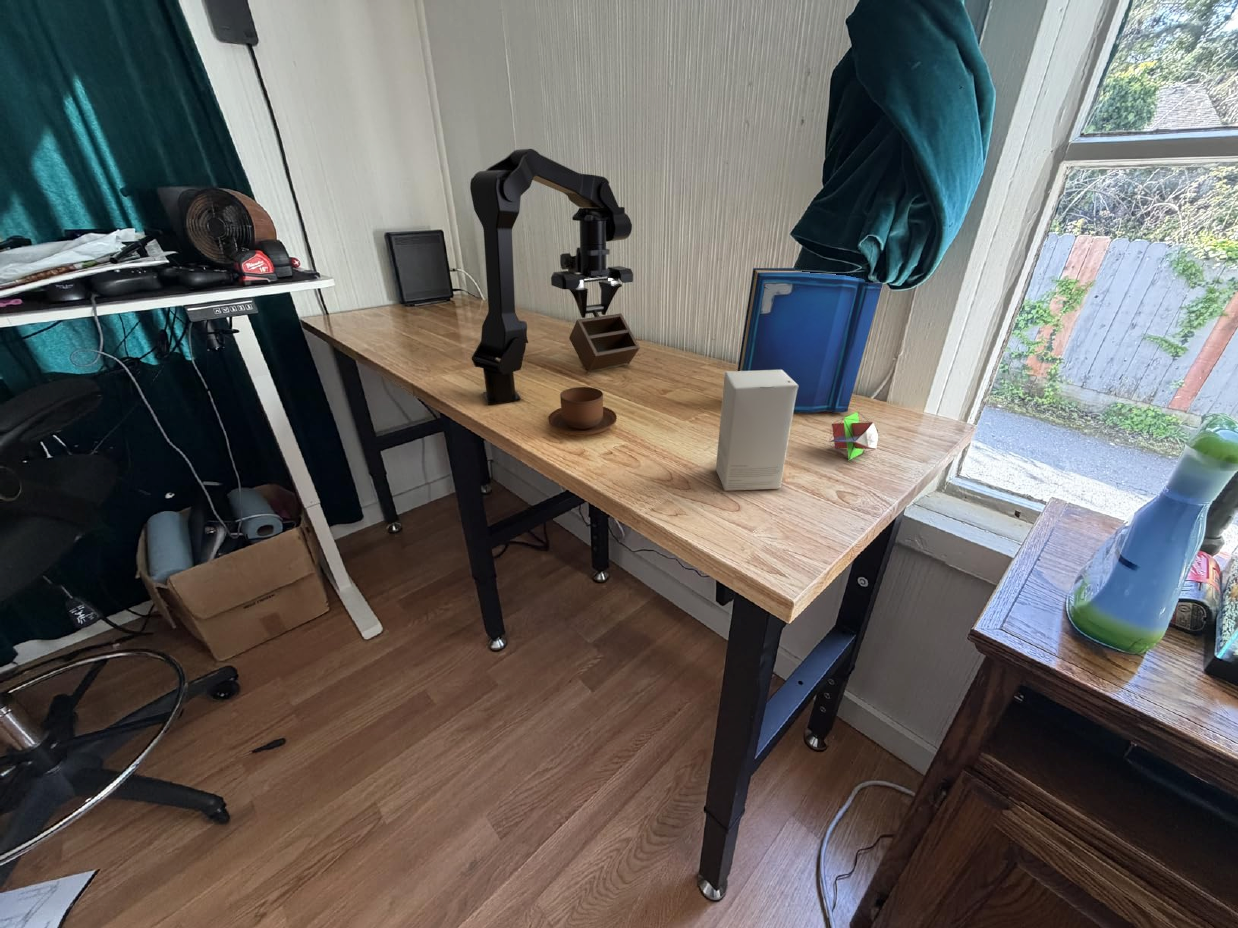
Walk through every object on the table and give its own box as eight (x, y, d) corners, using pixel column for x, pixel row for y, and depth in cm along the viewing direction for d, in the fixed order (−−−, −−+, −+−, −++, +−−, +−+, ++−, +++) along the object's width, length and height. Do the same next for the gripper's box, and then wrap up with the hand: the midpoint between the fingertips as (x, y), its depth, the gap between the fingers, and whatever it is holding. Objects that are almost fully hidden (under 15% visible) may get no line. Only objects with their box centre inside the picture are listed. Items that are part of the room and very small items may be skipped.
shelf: (562, 324, 116) (569, 305, 111) (604, 318, 122) (614, 300, 117) (586, 373, 113) (595, 356, 107) (629, 364, 119) (640, 347, 113)
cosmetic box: (768, 468, 74) (785, 368, 67) (782, 491, 68) (802, 385, 61) (712, 469, 74) (723, 368, 67) (722, 492, 68) (735, 385, 61)
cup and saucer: (535, 425, 88) (533, 392, 85) (589, 408, 95) (588, 378, 92) (575, 448, 80) (573, 413, 77) (630, 428, 87) (631, 395, 84)
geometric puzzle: (809, 435, 79) (846, 408, 73) (833, 425, 83) (870, 397, 77) (836, 473, 77) (876, 448, 71) (859, 460, 81) (899, 435, 75)
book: (843, 403, 98) (875, 268, 86) (854, 417, 91) (890, 274, 79) (732, 398, 100) (748, 266, 87) (736, 412, 93) (754, 272, 81)
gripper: (607, 237, 117) (607, 304, 125) (537, 241, 108) (541, 313, 116) (635, 242, 110) (633, 314, 118) (562, 247, 100) (565, 324, 108)
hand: (593, 316), depth 115 cm, fingers closed on shelf, 5 cm apart
